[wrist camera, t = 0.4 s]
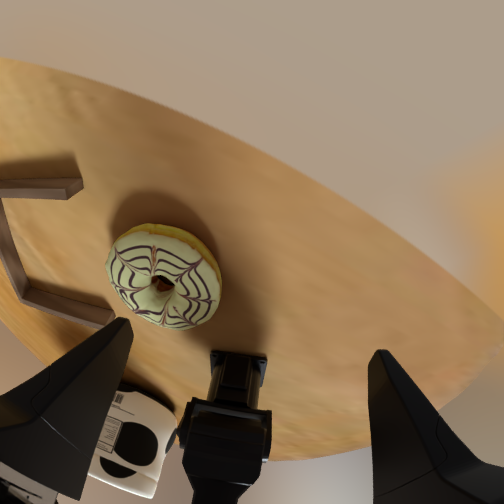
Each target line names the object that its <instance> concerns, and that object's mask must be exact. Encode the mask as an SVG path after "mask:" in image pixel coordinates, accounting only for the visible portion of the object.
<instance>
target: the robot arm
mask: <svg viewBox="0 0 504 504" xmlns="http://www.w3.org/2000/svg"><path fill="white" fill-rule="evenodd" d="M133 338H134V334H133V330H132V327H131V324H130V321H129V319H127V318H123V317H117V318H116V319H114V320H113V321H111V322H110V323H109V324H107V325H106V326H104V327H103V328H101V329H100V330H99V331H97V332H96V333H94V334H93V335H91V336H90V337H89V338H87V339H86V340H84V341H83V342H82V343H80V344H79V345H77V346H76V347H74V348H73V349H72V350H70V351H69V352H67V353H66V354H65V355H63V356H62V357H60V358H59V359H58V360H56V361H55V362H54V363H52V364H51V366H50V365H49V366H48V367H47V368H45V369H44V370H42V371H41V372H39V373H38V374H36V375H35V376H34V377H32V378H30V379H29V380H27V381H25V382H24V383H22V384H20V385H19V386H17V387H15V388H13V389H12V390H10V391H8V392H7V393H5V394H3V395H1V396H0V504H58V502H57V499H56V498H57V495H58V493H61V494H63V495H65V496H68V497H70V498H73V499H75V500H78V501H79V500H80V498H81V494H82V491H83V488H84V484H85V481H86V477H87V474H88V471H89V468H90V464H91V461H92V458H93V455H94V452H95V449H96V446H97V443H98V440H99V437H100V434H101V431H102V428H103V425H104V423H105V420H106V417H107V414H108V412H109V409H110V406H111V404H112V401H113V398H114V396H115V393H116V391H117V388H118V386H119V383H120V381H121V378H122V375H123V373H124V369H125V366H126V362H127V359H128V355H129V352H130V348H131V345H132V342H133ZM210 360H211V376H212V379H211V383H210V387H209V391H208V396H207V400H202V399H198V398H196V397H192V400H191V402H187V405H186V408H185V412H184V415H183V417H182V419H181V421H180V423H179V425H178V427H177V430H176V434H177V436H178V437H179V442H180V448H181V449H184V455H183V460H182V464H183V467H184V469H185V472H186V474H187V476H188V479H189V481H190V483H191V486H192V488H193V490H194V494H193V499H192V504H237V502H238V498H239V497H240V496H241V495H242V494H243V493H244V492H245V491H246V490H247V489H248V488H249V487H250V486H251V485H253V484H254V482H255V481H256V480H257V479H258V477H259V476H260V471H261V465H262V463H266V462H267V460H268V458H269V454H270V449H271V440H272V410H258V409H257V406H258V398H259V389H260V387H262V384H263V379H264V375H265V370H266V366H267V359H266V358H264V357H256V356H248V355H241V354H234V353H227V352H221V351H211V354H210ZM368 409H369V420H370V431H371V445H372V461H373V462H372V463H373V504H504V467H500V466H495V465H492V464H488V463H485V462H483V461H481V460H480V459H478V458H477V457H476V456H475V455H474V454H473V453H472V452H471V451H470V449H469V448H468V447H467V446H466V445H465V444H464V443H463V442H462V441H461V440H460V439H459V438H458V436H457V435H456V434H455V433H454V432H453V431H452V430H451V428H450V427H449V426H448V425H447V423H446V422H445V421H444V420H443V418H442V417H441V416H440V415H439V413H438V412H437V410H436V409H435V408H434V407H433V405H432V404H431V403H430V401H429V400H428V399H427V398H426V396H425V395H424V394H423V393H422V391H421V390H420V389H419V388H418V386H417V385H416V384H415V383H414V381H413V380H412V379H411V378H410V376H409V375H408V374H407V373H406V371H405V370H404V369H403V368H402V367H401V365H400V364H399V363H398V362H397V360H396V359H395V358H394V357H393V356H392V354H391V353H390V352H389V351H388V350H386V349H378V350H376V352H375V353H374V355H373V357H372V358H371V360H370V362H369V364H368Z"/></svg>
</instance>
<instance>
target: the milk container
mask: <svg viewBox="0 0 504 504" xmlns="http://www.w3.org/2000/svg"><path fill="white" fill-rule="evenodd" d="M176 430H177V420H176V417H175V415H174V413H173V412H172V411H171V410H170V409H169V408H168V407H167V406H166V405H165V404H164V403H162V402H160V401H159V400H157V399H156V398H154V397H153V396H151V395H149V394H147V393H145V392H143V391H141V390H139V389H136V388H133V387H131V386H128V385H125V384H122V383H119V386H118V388H117V391H116V393H115V396H114V398H113V401H112V404H111V406H110V409H109V412H108V414H107V417H106V420H105V423H104V425H103V428H102V431H101V434H100V437H99V440H98V443H97V446H96V449H95V452H94V455H93V458H92V461H91V464H90V468H89V471H88V475H90V476H92V477H94V478H96V479H99V480H101V481H103V482H105V483H107V484H110V485H112V486H115V487H118V488H120V489H122V490H125V491H128V492H131V493H134V494H137V495H140V496H143V497H147V498H150V499H152V497H153V496H154V493H155V491H156V488H157V481H158V480H159V477H160V473H161V468H162V464H163V461H164V458H165V456H166V454H167V452H168V451H169V449H170V448H171V446H172V445H173V443H174V440H175V438H176Z"/></svg>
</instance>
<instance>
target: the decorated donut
mask: <svg viewBox="0 0 504 504" xmlns="http://www.w3.org/2000/svg"><path fill="white" fill-rule="evenodd" d="M105 267H106V271H107V273H108V276H109V281H110V283H111V285H112V287H113V288H114V290H115V291H116V292H117V294H118V295H119V297H120V298H121V300H122V301H123V302H124V303H125V304H126V305H127V306H128V307H129V308H130V309H131V310H132V311H133V312H134V313H136V314H137V315H139V316H140V317H142V318H144V319H145V320H147V321H149V322H151V323H153V324H156V325H158V326H161V327H164V328H169V329H173V330H178V331H180V330H187V329H191V328H193V327H196V326H197V325H200V324H202V323H204V322H206V321H208V320H209V319H210V318H211V317H212V315H213V314H214V313H215V311H216V309H217V308H218V305H219V301H220V298H221V290H222V279H221V273H220V270H219V267H218V264H217V262H216V259H215V258H214V256H213V255H212V253H211V252H210V251H209V249H208V248H207V247H206V246H205V245H204V244H203V242H202V241H200V240H199V239H198V238H197V237H195V236H194V235H193V234H192V233H190V232H188V231H185V230H183V229H180V228H176V227H174V226H168V225H162V224H150V223H146V224H142V225H139V226H136V227H133V228H131V229H130V230H129V231H128V232H127V233H124V234H122V235H121V236H120V237H119V238H118V239H117V240H116V241H115V242H114V244H113V246H112V248H111V250H110V252H109V256H108V260H107V261H106V263H105ZM156 275H163V276H165V277H167V278H168V279H169V280H171V281H172V282H173V283H174V284H175V285H173V286H172V285H167V284H165V283H164V282H162V281H161V280H160V279H159V278H158V277H157V276H156Z"/></svg>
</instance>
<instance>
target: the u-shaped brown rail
mask: <svg viewBox="0 0 504 504" xmlns="http://www.w3.org/2000/svg"><path fill="white" fill-rule="evenodd" d="M82 189H83V181H82V178H38V179H13V180H0V258H1V261H2V263H3V265H4V268H5V270H6V273H7V275H8V277H9V279H10V282H11V284H12V286H13V288H14V290H15V292H16V294H17V296H18V299H19V301H20V302H21V303H23V304H26V305H28V306H31V307H33V308H36V309H39V310H41V311H44V312H47V313H50V314H52V315H55V316H58V317H61V318H64V319H67V320H70V321H73V322H76V323H79V324H82V325H85V326H89V327H92V328H95V329H99V330H100V329H101V328H103V327H104V326H106V325H107V324H109V323H110V322H111V321H113V320H114V319H115V317H116V316H115V314H114V311H112V310H108V309H104V308H100V307H96V306H92V305H89V304H85V303H81V302H78V301H74V300H71V299H67V298H64V297H60V296H57V295H54V294H50V293H47V292H44V291H41V290H38V289H35V288H32V287H31V286H30V283H29V281H28V279H27V276H26V274H25V271H24V269H23V266H22V264H21V261H20V259H19V256H18V253H17V250H16V248H15V245H14V242H13V239H12V236H11V233H10V230H9V226H8V223H7V220H6V216H5V213H4V209H3V205H2V201H1V198H31V199H56V200H68V199H69V198H71V197H72V196H73V195H75V194H76V193H78V192H79V191H81V190H82Z"/></svg>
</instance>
